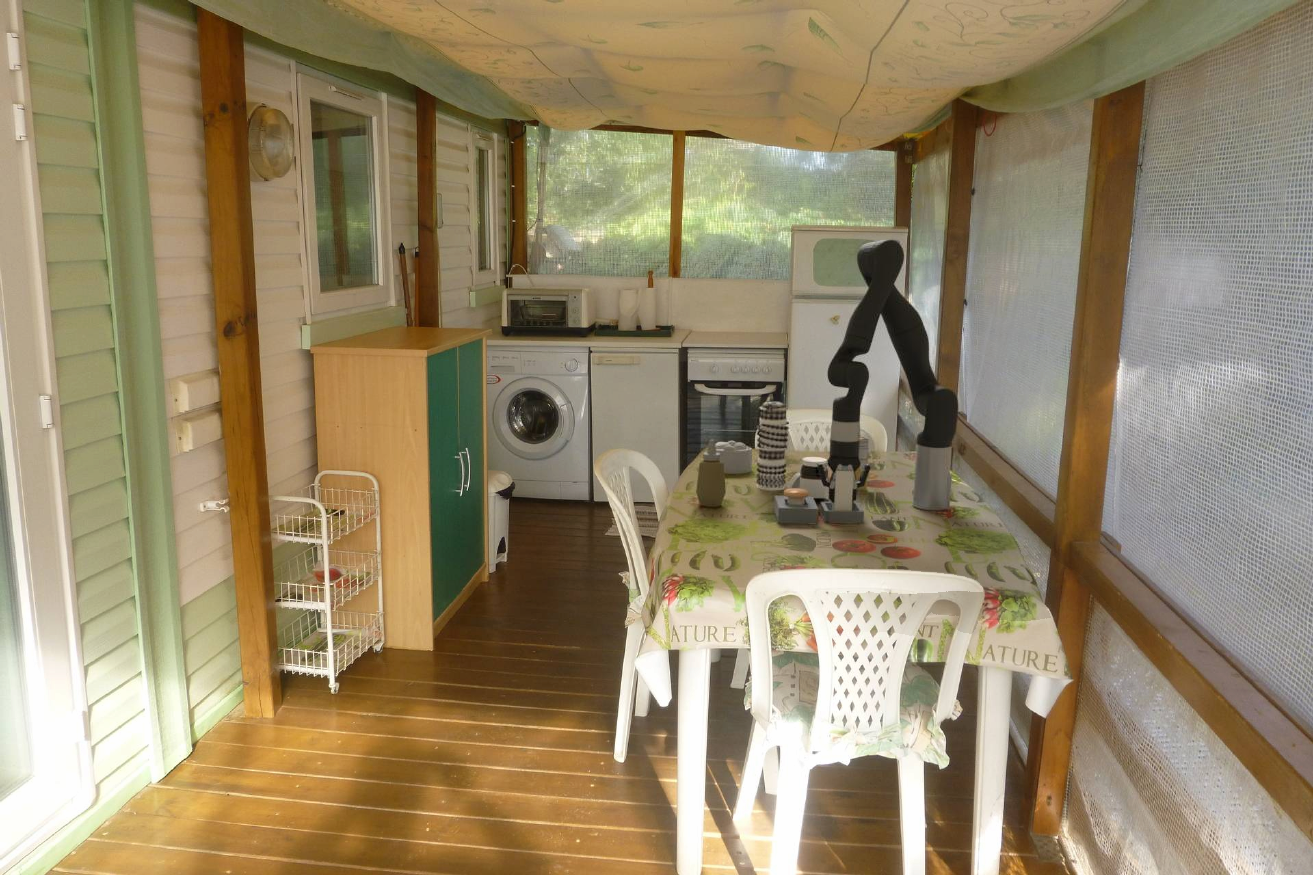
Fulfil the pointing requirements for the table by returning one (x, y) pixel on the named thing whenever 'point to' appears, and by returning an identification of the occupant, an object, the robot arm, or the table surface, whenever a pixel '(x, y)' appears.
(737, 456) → the lumpy-topped squat cylinder
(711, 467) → the squeeze bottle
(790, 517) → the socket blocks
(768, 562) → the table surface
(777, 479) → the decorative candle
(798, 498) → the tan mushroom peg
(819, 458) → the spread jar
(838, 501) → the square rod with knob
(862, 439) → the candy box
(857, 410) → the robot arm
